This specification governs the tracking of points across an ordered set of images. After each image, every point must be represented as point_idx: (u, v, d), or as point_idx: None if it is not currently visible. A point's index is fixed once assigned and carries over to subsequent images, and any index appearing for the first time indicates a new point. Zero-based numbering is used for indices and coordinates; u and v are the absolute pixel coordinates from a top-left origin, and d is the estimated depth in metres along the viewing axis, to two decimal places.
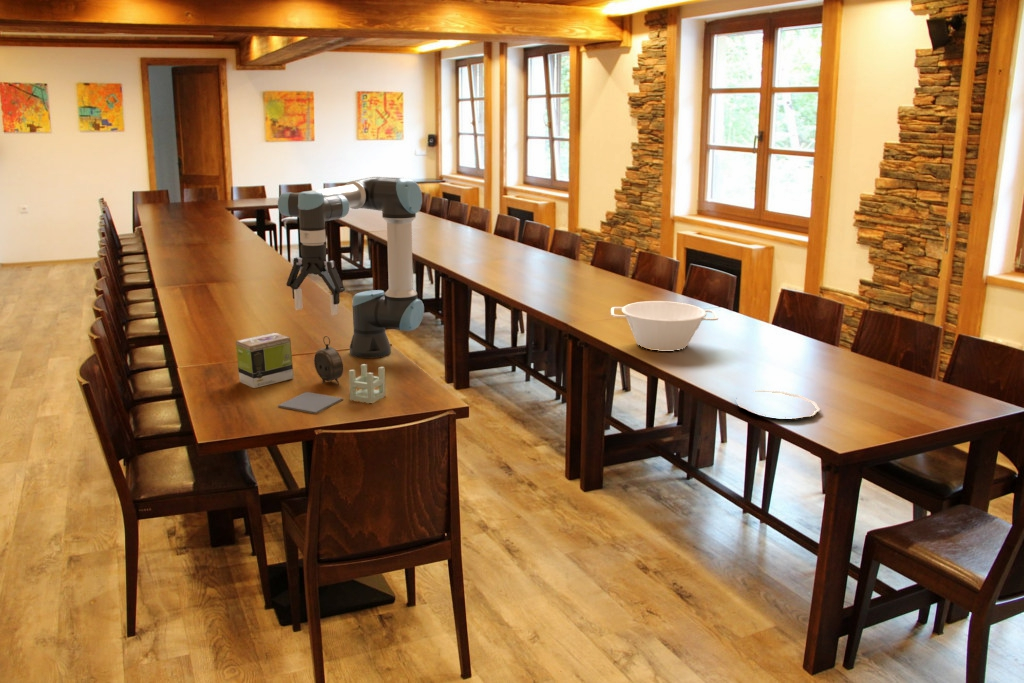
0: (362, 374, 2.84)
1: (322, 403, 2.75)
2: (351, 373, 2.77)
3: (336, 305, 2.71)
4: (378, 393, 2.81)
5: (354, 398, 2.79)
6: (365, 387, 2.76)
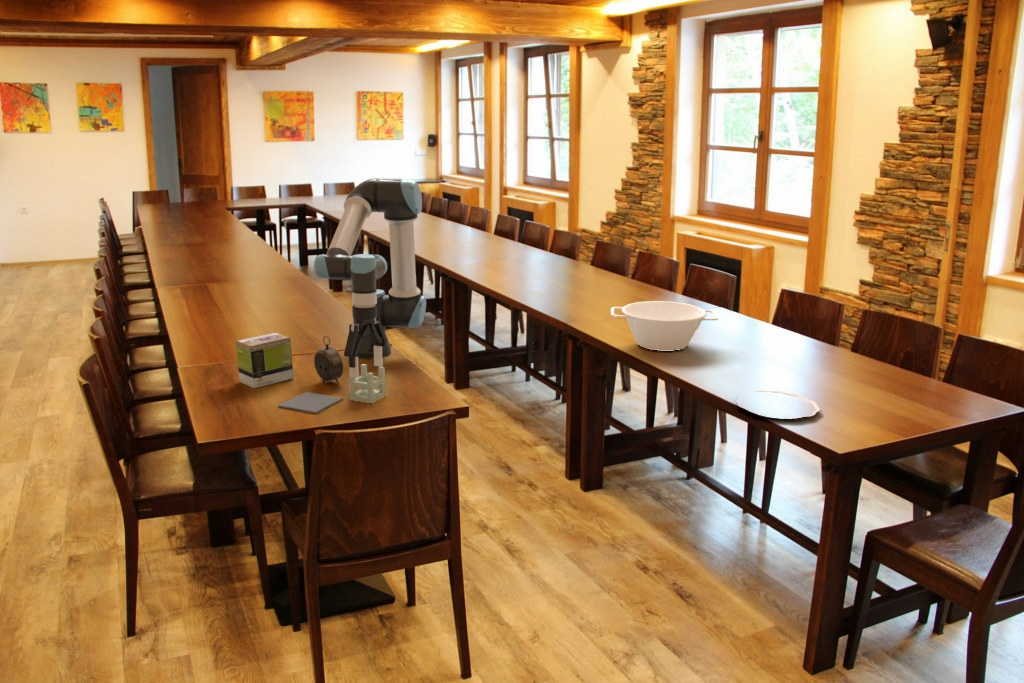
0: (362, 374, 2.84)
1: (322, 403, 2.75)
2: None
3: (355, 369, 2.72)
4: (378, 393, 2.81)
5: (354, 398, 2.79)
6: (365, 387, 2.76)
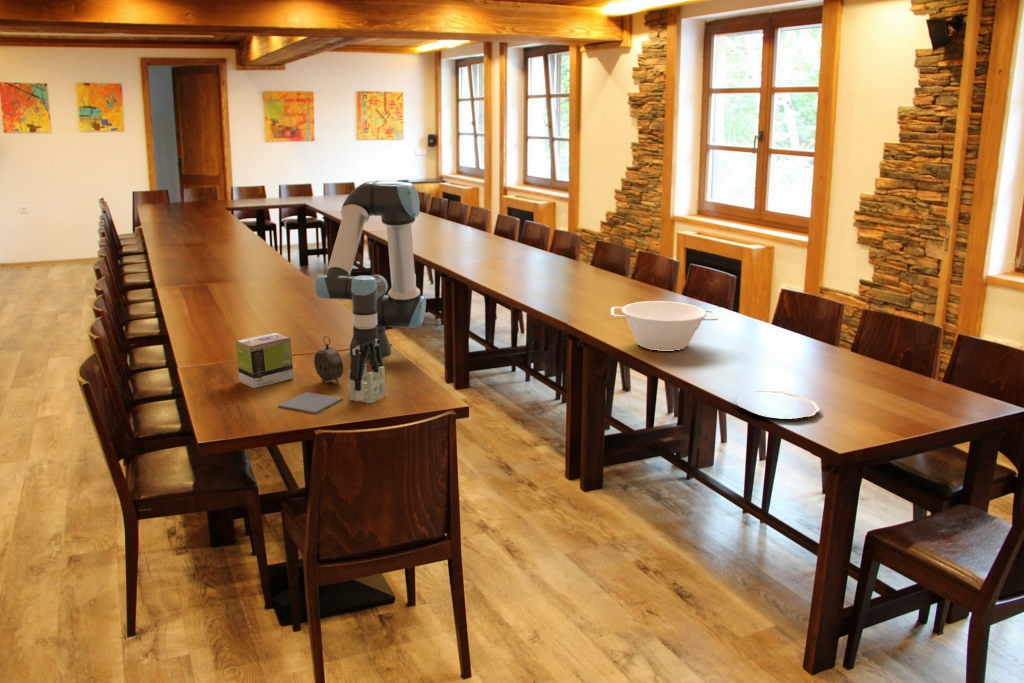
0: None
1: (322, 403, 2.75)
2: None
3: (360, 392, 2.76)
4: (378, 393, 2.81)
5: (354, 398, 2.79)
6: (365, 387, 2.76)
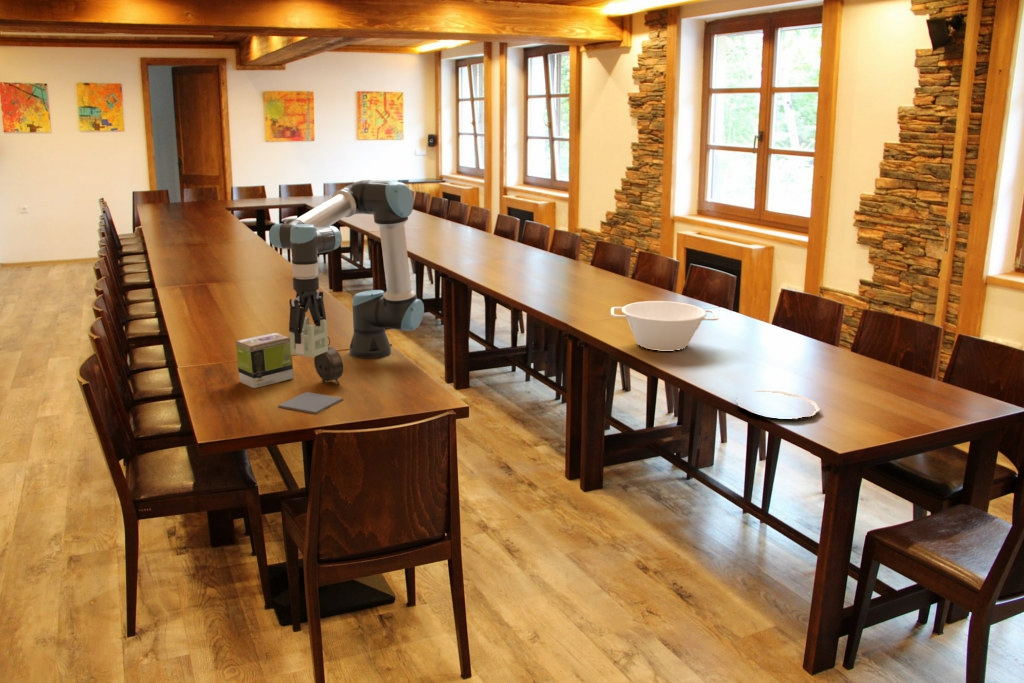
0: (304, 328, 2.74)
1: (322, 403, 2.75)
2: None
3: (301, 345, 2.67)
4: (320, 347, 2.71)
5: (295, 352, 2.69)
6: (306, 340, 2.66)
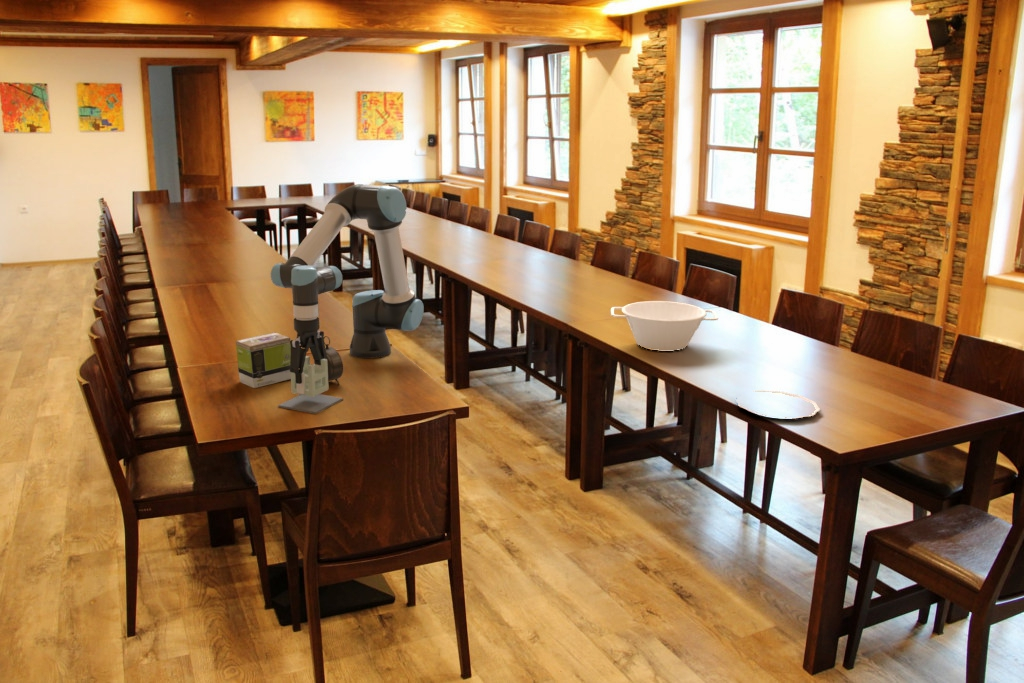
0: (305, 366, 2.77)
1: (322, 403, 2.75)
2: None
3: (301, 385, 2.70)
4: (321, 386, 2.74)
5: (296, 391, 2.72)
6: (306, 379, 2.70)
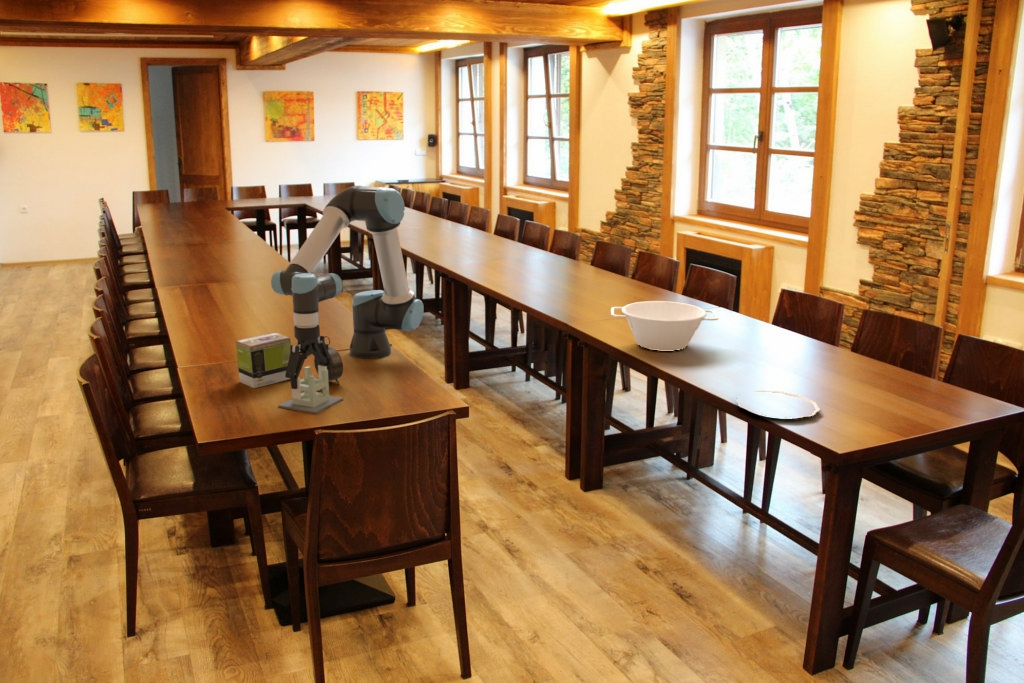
0: (305, 377, 2.78)
1: (322, 403, 2.75)
2: None
3: (297, 390, 2.68)
4: (321, 396, 2.75)
5: (296, 401, 2.73)
6: (307, 390, 2.71)
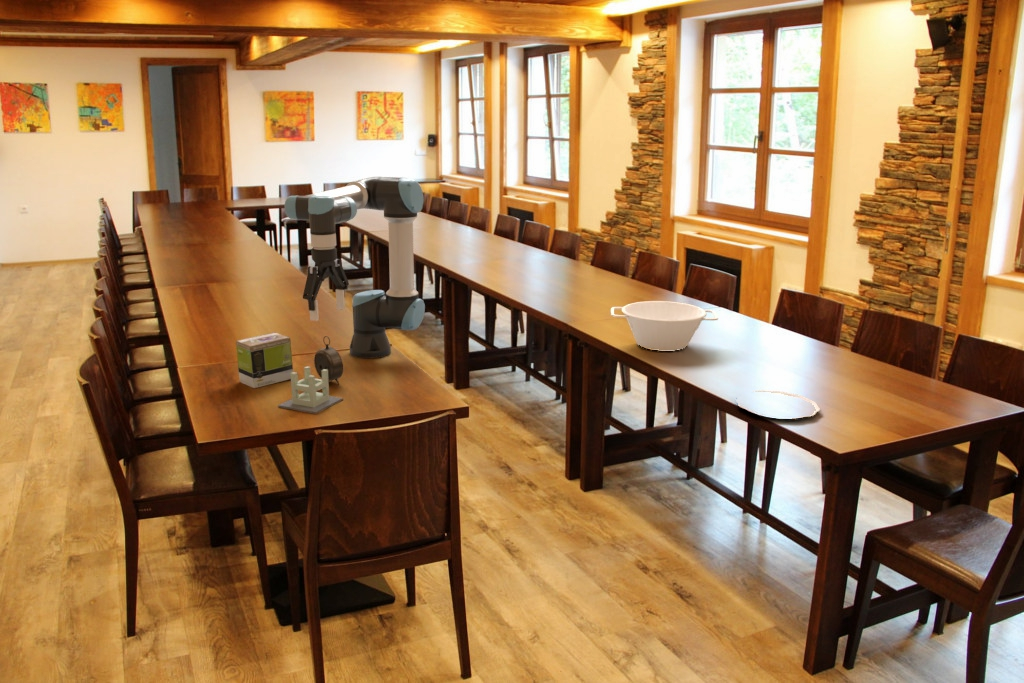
0: (305, 377, 2.78)
1: (322, 403, 2.75)
2: (293, 375, 2.71)
3: (314, 312, 2.68)
4: (321, 396, 2.75)
5: (296, 401, 2.73)
6: (307, 390, 2.71)
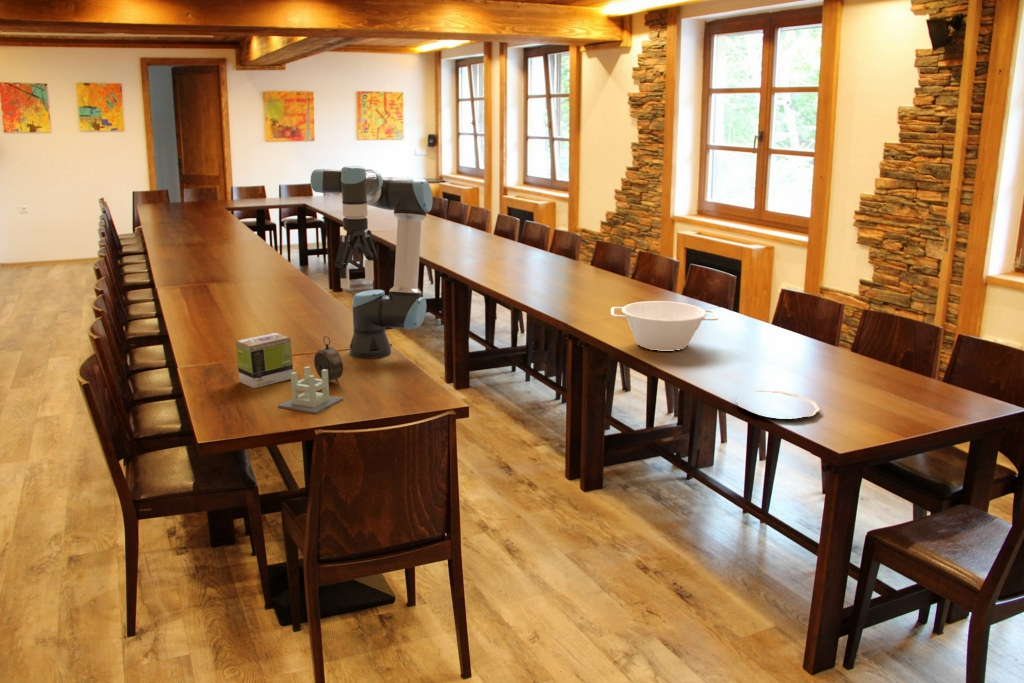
0: (305, 377, 2.78)
1: (322, 403, 2.75)
2: (293, 375, 2.71)
3: (345, 280, 2.74)
4: (321, 396, 2.75)
5: (296, 401, 2.73)
6: (307, 390, 2.71)
